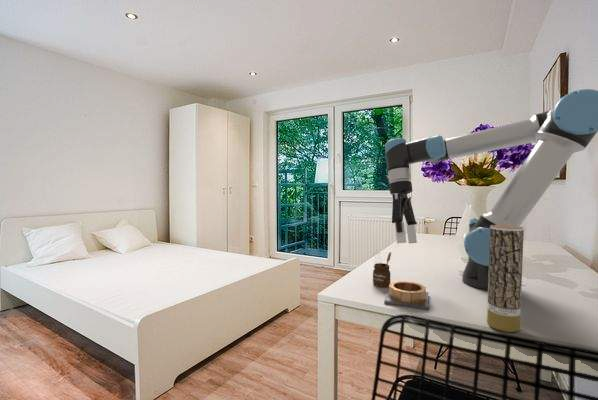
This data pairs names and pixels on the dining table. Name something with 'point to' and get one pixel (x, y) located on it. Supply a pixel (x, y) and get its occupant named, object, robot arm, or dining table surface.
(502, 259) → the paper tube
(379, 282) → the utensil holder
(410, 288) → the collar plate
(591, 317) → the dining table surface
